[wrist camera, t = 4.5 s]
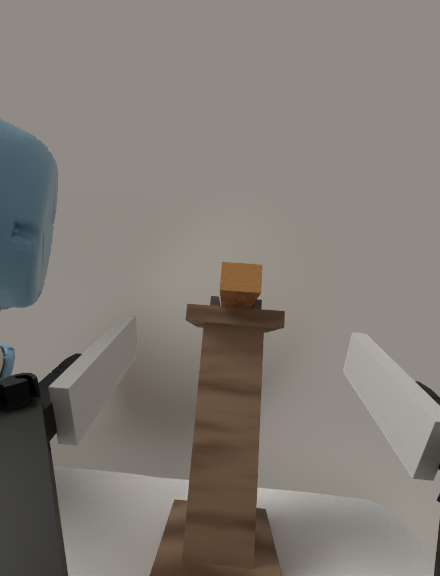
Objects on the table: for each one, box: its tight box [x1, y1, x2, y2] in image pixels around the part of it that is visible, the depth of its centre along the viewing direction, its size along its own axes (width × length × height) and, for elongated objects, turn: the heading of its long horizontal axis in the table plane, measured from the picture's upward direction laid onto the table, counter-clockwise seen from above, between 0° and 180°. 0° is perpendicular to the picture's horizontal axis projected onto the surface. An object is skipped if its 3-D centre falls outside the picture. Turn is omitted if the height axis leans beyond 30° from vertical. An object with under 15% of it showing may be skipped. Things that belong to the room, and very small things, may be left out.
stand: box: [150, 296, 285, 576], centre depth 35 cm, size 14×14×31 cm
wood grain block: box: [220, 262, 262, 309], centre depth 34 cm, size 24×4×2 cm, turn 179°
